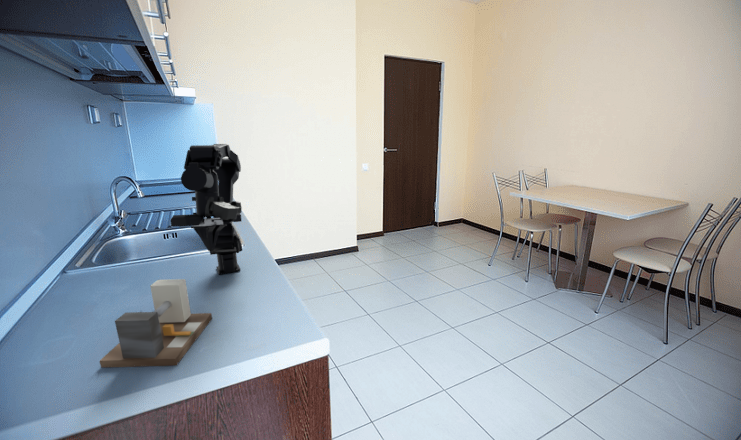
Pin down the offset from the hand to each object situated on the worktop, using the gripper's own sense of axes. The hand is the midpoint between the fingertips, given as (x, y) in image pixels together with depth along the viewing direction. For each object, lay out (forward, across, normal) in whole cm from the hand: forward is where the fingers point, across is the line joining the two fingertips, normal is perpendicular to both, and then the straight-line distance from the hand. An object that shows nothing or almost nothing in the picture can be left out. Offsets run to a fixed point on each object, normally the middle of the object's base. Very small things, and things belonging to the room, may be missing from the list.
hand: (211, 251), depth 91 cm
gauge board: (+17, -20, -5) cm, 26 cm away
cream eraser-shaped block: (+14, -16, -4) cm, 22 cm away
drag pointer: (+15, -19, -9) cm, 25 cm away
